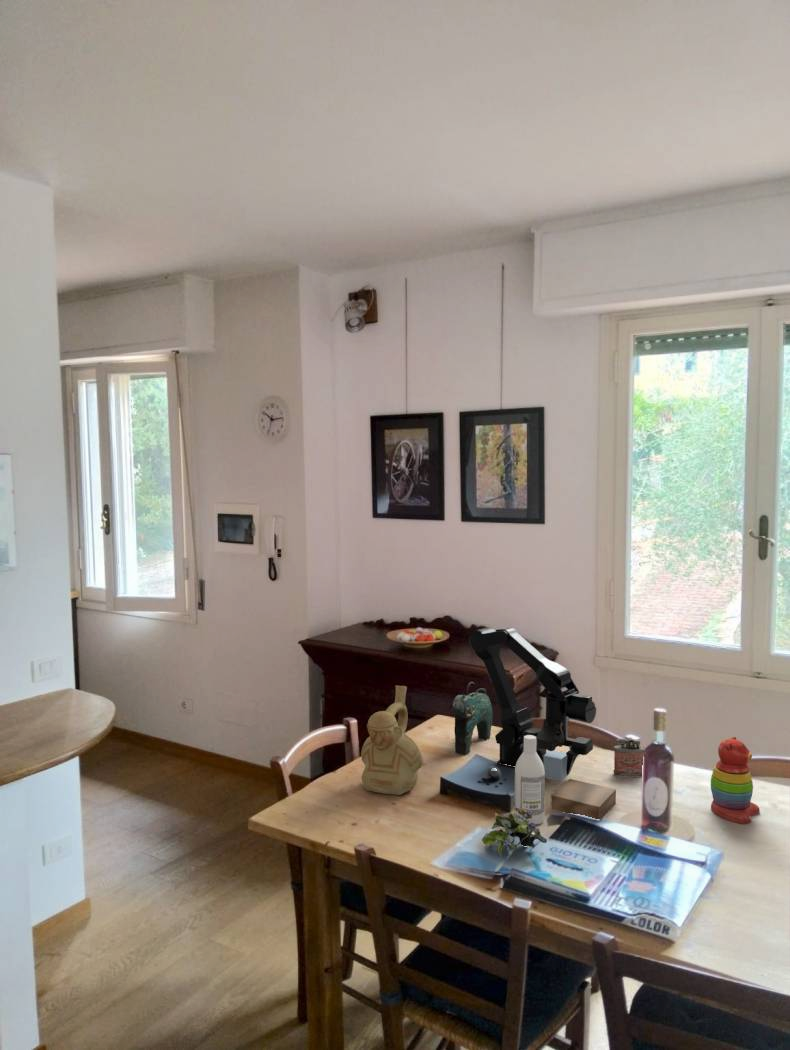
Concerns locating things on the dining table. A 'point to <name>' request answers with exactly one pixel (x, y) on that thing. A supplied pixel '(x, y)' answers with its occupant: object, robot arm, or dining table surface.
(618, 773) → the lighter
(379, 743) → the ceramic vessel
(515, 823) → the green leafy plant
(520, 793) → the bath foam
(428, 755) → the dining table surface
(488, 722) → the green elephant figurine
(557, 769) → the slate block
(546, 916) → the dining table surface
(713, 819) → the dining table surface
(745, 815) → the stacking bear
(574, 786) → the walnut slab
